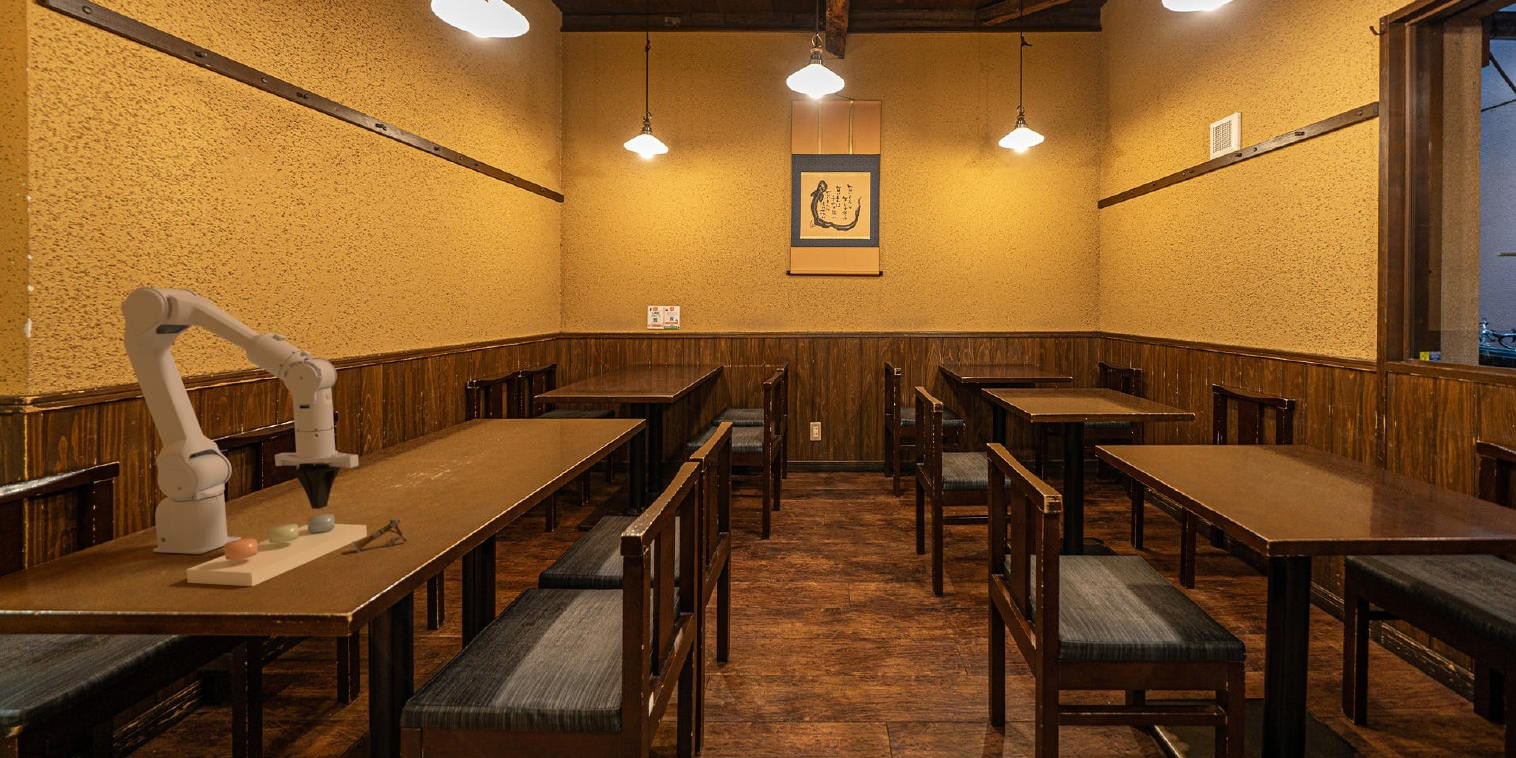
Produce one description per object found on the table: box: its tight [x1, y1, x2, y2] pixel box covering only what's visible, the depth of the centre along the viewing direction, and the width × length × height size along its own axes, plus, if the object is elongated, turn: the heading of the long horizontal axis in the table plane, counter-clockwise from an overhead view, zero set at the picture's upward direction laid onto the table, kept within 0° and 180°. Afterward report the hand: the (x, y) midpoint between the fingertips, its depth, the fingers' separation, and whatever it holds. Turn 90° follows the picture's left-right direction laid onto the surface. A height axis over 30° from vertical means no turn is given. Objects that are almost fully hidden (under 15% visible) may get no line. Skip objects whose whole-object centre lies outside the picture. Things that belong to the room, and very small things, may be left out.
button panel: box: [186, 523, 368, 587], centre depth 118 cm, size 11×24×2 cm, turn 170°
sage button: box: [268, 523, 299, 543], centre depth 118 cm, size 4×4×2 cm
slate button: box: [306, 513, 336, 532], centre depth 126 cm, size 4×4×2 cm
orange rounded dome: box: [223, 538, 258, 560], centre depth 110 cm, size 4×4×2 cm
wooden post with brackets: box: [351, 518, 408, 553], centre depth 123 cm, size 2×8×4 cm, turn 125°
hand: (319, 507), depth 126 cm, fingers closed
